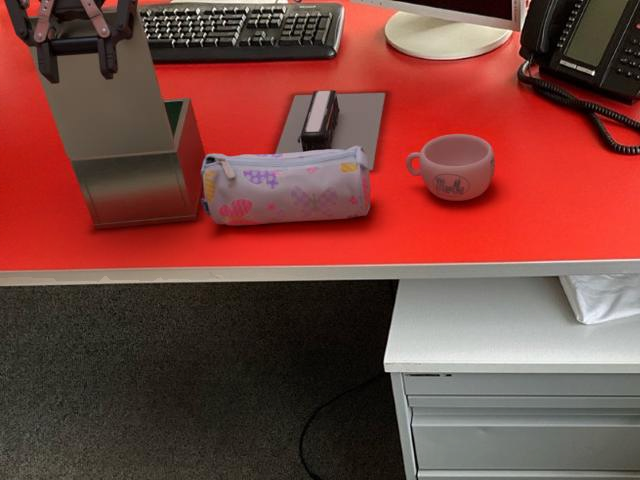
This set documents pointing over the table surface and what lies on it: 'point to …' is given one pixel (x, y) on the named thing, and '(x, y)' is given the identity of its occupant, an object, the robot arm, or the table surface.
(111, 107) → the freezer lid
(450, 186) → the mug
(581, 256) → the table surface
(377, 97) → the flat grey base plate
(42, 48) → the robot arm
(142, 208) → the box
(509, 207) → the table surface
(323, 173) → the pencil case
